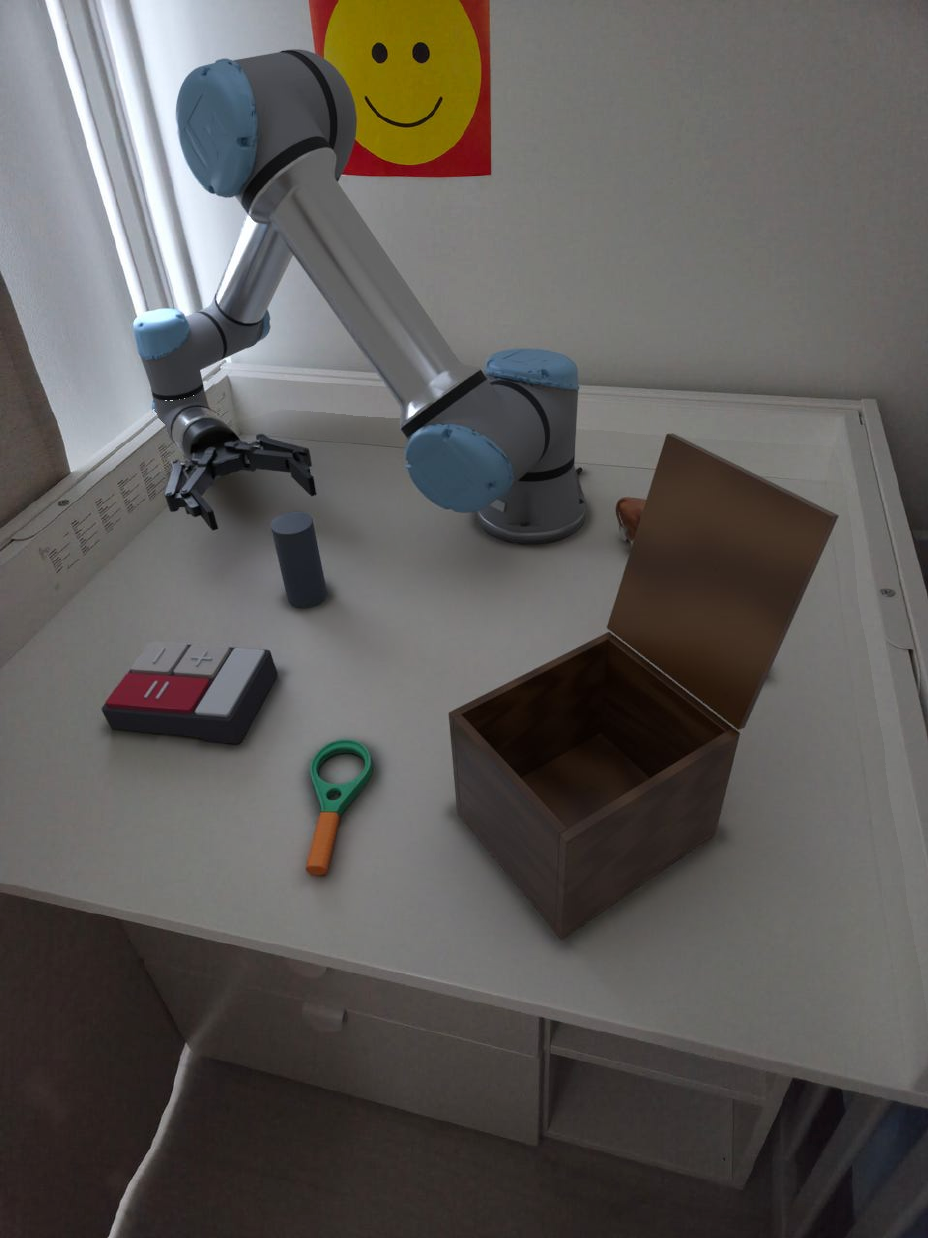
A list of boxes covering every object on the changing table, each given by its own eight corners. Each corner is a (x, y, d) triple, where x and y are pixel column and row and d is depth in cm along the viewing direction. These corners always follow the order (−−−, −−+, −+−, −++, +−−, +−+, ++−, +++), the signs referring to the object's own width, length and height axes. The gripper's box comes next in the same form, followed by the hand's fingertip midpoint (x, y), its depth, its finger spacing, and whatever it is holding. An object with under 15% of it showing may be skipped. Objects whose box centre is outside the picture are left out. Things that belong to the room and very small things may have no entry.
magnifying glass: (319, 746, 83) (316, 735, 82) (377, 747, 83) (375, 736, 82) (284, 876, 71) (280, 865, 70) (351, 878, 71) (349, 867, 70)
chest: (561, 940, 66) (566, 841, 57) (456, 811, 76) (448, 712, 68) (715, 834, 73) (740, 733, 64) (600, 730, 83) (609, 631, 75)
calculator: (148, 636, 92) (269, 643, 89) (160, 664, 95) (279, 672, 92) (96, 704, 84) (228, 715, 81) (111, 733, 87) (239, 745, 84)
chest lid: (832, 516, 54) (839, 515, 55) (666, 433, 65) (673, 433, 65) (738, 730, 64) (744, 728, 64) (606, 628, 74) (612, 626, 75)
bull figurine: (706, 576, 102) (716, 521, 97) (608, 547, 108) (612, 494, 103) (718, 558, 105) (728, 504, 100) (621, 531, 111) (626, 479, 106)
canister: (316, 579, 106) (302, 506, 99) (333, 598, 102) (319, 524, 95) (281, 593, 104) (263, 520, 97) (297, 613, 100) (280, 538, 93)
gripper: (291, 440, 125) (354, 497, 111) (129, 491, 115) (176, 561, 101) (282, 394, 120) (347, 447, 106) (112, 443, 110) (159, 509, 96)
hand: (264, 503), depth 104 cm, fingers open, 13 cm apart
